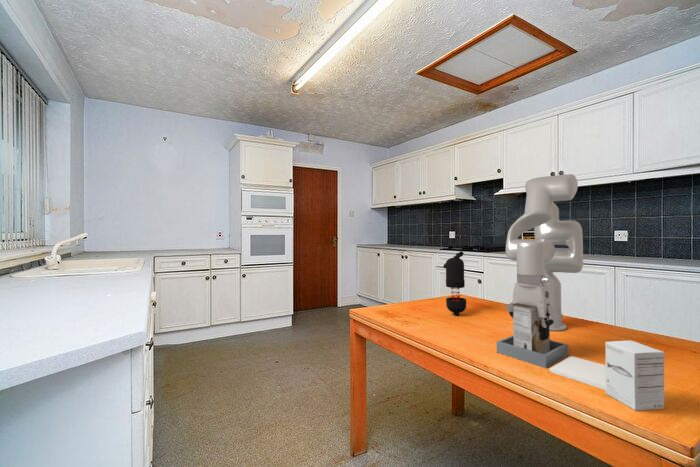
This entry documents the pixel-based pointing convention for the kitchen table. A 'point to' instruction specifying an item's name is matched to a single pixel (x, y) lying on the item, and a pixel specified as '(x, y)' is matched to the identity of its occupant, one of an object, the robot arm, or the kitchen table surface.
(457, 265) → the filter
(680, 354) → the kitchen table surface
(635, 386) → the supplement box
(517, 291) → the robot arm
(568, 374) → the mat
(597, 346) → the kitchen table surface
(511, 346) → the packet holder
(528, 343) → the coffee box
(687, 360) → the kitchen table surface
